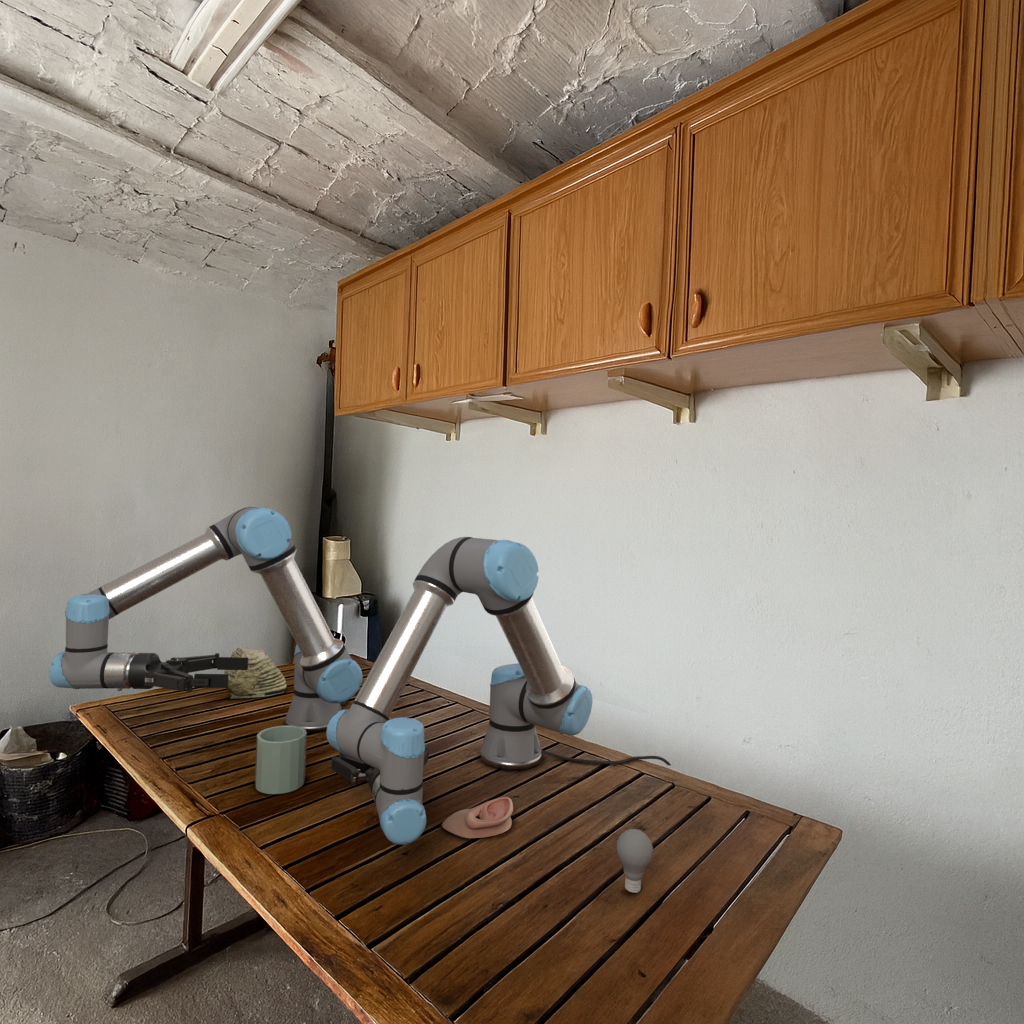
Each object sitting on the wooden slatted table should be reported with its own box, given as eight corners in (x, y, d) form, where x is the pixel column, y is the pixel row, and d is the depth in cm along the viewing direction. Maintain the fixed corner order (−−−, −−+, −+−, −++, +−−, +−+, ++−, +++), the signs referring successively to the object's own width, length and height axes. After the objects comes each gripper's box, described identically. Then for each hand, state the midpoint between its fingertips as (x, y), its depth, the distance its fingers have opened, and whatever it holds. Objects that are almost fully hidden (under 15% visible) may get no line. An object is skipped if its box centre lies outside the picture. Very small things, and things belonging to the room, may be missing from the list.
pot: (287, 769, 146) (289, 722, 146) (313, 783, 140) (315, 733, 140) (246, 783, 138) (247, 733, 138) (271, 798, 132) (273, 746, 132)
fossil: (218, 695, 195) (220, 647, 195) (278, 685, 208) (279, 640, 207) (228, 703, 189) (230, 653, 188) (289, 692, 201) (290, 645, 201)
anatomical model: (437, 813, 121) (454, 787, 132) (436, 833, 121) (454, 805, 132) (505, 823, 118) (517, 795, 129) (504, 844, 118) (516, 815, 129)
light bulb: (610, 879, 108) (613, 822, 108) (644, 879, 109) (647, 822, 109) (619, 902, 102) (622, 840, 102) (655, 901, 103) (658, 840, 103)
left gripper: (159, 672, 148) (254, 673, 150) (103, 707, 123) (217, 708, 125) (160, 640, 147) (255, 641, 150) (104, 669, 123) (218, 670, 125)
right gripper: (322, 814, 117) (317, 767, 137) (453, 798, 125) (430, 756, 145) (324, 774, 117) (318, 732, 137) (455, 761, 125) (431, 723, 145)
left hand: (238, 672), depth 138 cm, fingers open, 13 cm apart
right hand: (376, 744), depth 141 cm, fingers open, 13 cm apart
